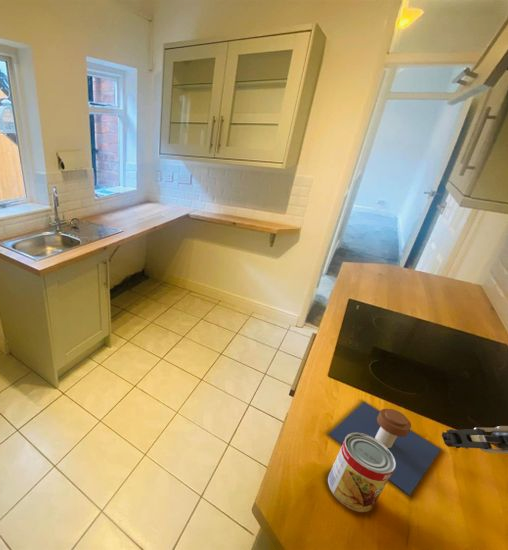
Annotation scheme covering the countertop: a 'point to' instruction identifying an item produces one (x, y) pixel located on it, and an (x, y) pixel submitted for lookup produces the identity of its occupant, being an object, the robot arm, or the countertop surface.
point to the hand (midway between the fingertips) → (472, 441)
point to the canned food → (360, 471)
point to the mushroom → (391, 426)
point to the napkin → (406, 450)
